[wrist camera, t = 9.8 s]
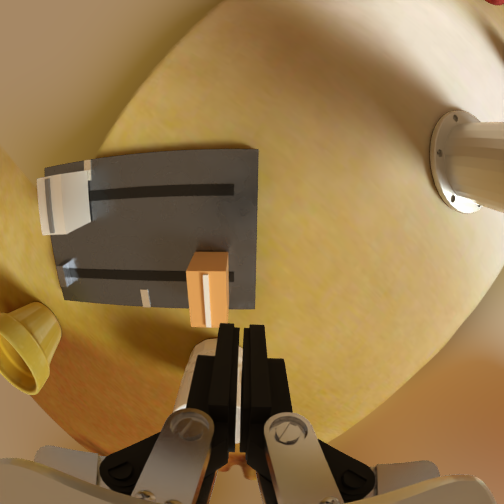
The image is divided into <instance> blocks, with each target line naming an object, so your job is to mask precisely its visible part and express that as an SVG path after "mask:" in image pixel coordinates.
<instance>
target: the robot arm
mask: <svg viewBox="0 0 504 504" xmlns="http://www.w3.org/2000/svg"><path fill="white" fill-rule="evenodd" d="M430 163H431V170H432V176H433V179H434V182H435V186H436V188H437V190H438V192H439V194H440V196H441V197H442V199H443V201H444V202H445V203H446V204H447V205H448V206H449V207H450V208H452V209H453V210H455V211H458V212H460V213H465V214H470V213H474V212H476V211H478V210H479V209H480V208H482V207H483V206H484V207H487V208H490V209H493V210H496V211H499V212H502V213H504V122H480V121H479V120H478V119H477V118H476V117H475V116H473V115H472V114H470V113H469V112H466V111H451V112H448V113H446V114H445V115H443V116H442V117H441V118H440V119H439V121H438V123H437V124H436V126H435V129H434V131H433V134H432V139H431V145H430ZM239 330H240V328H235V327H234V324H230V323H220V325H219V332H218V338H217V345H216V352H215V356H209V355H198V356H197V359H196V363H195V368H194V372H193V377H192V381H191V386H190V390H189V395H188V400H187V404H186V408H185V409H180V410H177V411H175V412H173V413H172V414H171V415H170V416H169V417H168V418H167V420H166V422H165V424H164V426H163V428H162V430H161V432H159V433H157V434H155V435H153V436H151V437H149V438H146V439H144V440H142V441H140V442H138V443H136V444H133V445H131V446H129V447H127V448H124V449H122V450H120V451H117V452H115V453H113V454H110V455H109V456H107V457H105V456H99V454H97V453H89V452H83V451H76V450H70V449H65V448H60V447H55V446H44V447H41V448H40V449H39V450H38V451H37V453H36V455H35V459H34V462H33V461H30V460H25V459H19V458H3V459H0V504H209V502H210V498H211V494H212V491H213V487H214V483H215V480H216V476H217V472H218V469H219V468H221V467H222V466H224V465H225V464H227V463H228V456H229V452H235V431H236V406H237V379H238V354H239ZM240 452H246V460H247V464H248V465H249V466H250V467H252V468H253V469H254V470H256V476H257V480H258V485H259V489H260V493H261V498H262V502H263V504H497V503H496V501H495V499H494V497H493V495H492V493H491V492H490V490H489V488H488V487H487V486H486V484H485V483H484V482H483V481H482V480H481V479H479V478H478V477H476V476H473V475H464V474H457V475H448V476H441V477H440V474H439V470H438V468H437V466H436V465H435V464H434V463H432V462H430V461H415V462H406V463H394V464H377V465H376V466H375V467H368V466H367V465H365V464H363V463H362V462H360V461H358V460H356V459H353V458H352V457H350V456H348V455H346V454H344V453H342V452H340V451H338V450H337V449H335V448H333V447H331V446H330V445H328V444H326V443H324V442H323V441H321V440H319V439H317V437H316V434H315V432H314V430H313V427H312V425H311V424H310V422H309V421H308V420H307V419H306V418H305V417H303V416H301V415H299V414H296V413H293V412H292V405H291V399H290V393H289V387H288V381H287V374H286V368H285V362H284V359H273V358H267V349H266V338H265V327H264V325H250V328H244V339H243V356H242V374H241V409H240Z"/></svg>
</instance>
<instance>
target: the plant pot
mask: <svg viewBox="0 0 504 504" xmlns="http://www.w3.org/2000/svg"><path fill="white" fill-rule="evenodd" d="M60 339H61V328H60V325H59V322H58V320H57V318H56V317H55V315H54V314H53V313H52V312H51V310H50V309H49V308H47V307H46V306H45V305H43V304H42V303H39V302H32V303H30V304H28V305H25V306H23V307H21V308H19V309H16V310H14V311H12V312H10V313H0V373H1V374H2V376H3V377H4V378H5V379H6V380H7V381H8V382H10V383H11V384H12V385H13V386H14V387H16V388H17V389H19V390H20V391H22V392H24V393H27V394H30V395H35V394H37V393H38V392H39V391H40V389H41V388H42V386H43V385H44V383H45V382H46V380H47V378H48V377H49V373H50V369H49V364H50V362H51V360H52V357H53V355H54V352H55V350H56V348H57V346H58V343H59V341H60Z"/></svg>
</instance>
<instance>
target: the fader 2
mask: <svg viewBox="0 0 504 504" xmlns="http://www.w3.org/2000/svg"><path fill="white" fill-rule="evenodd" d="M186 278H187V290H188V301H189V311H190V320H191V327H218V328H219V325H220V323H228V311H229V266H228V252H195V253H194V255H193V257H192V259H191V261H190V263H189V266H188V268H187V270H186Z"/></svg>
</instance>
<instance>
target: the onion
mask: <svg viewBox="0 0 504 504" xmlns="http://www.w3.org/2000/svg"><path fill="white" fill-rule="evenodd" d="M485 1H487V2H488V3H490V4H493V5H502V4H504V0H485Z"/></svg>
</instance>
